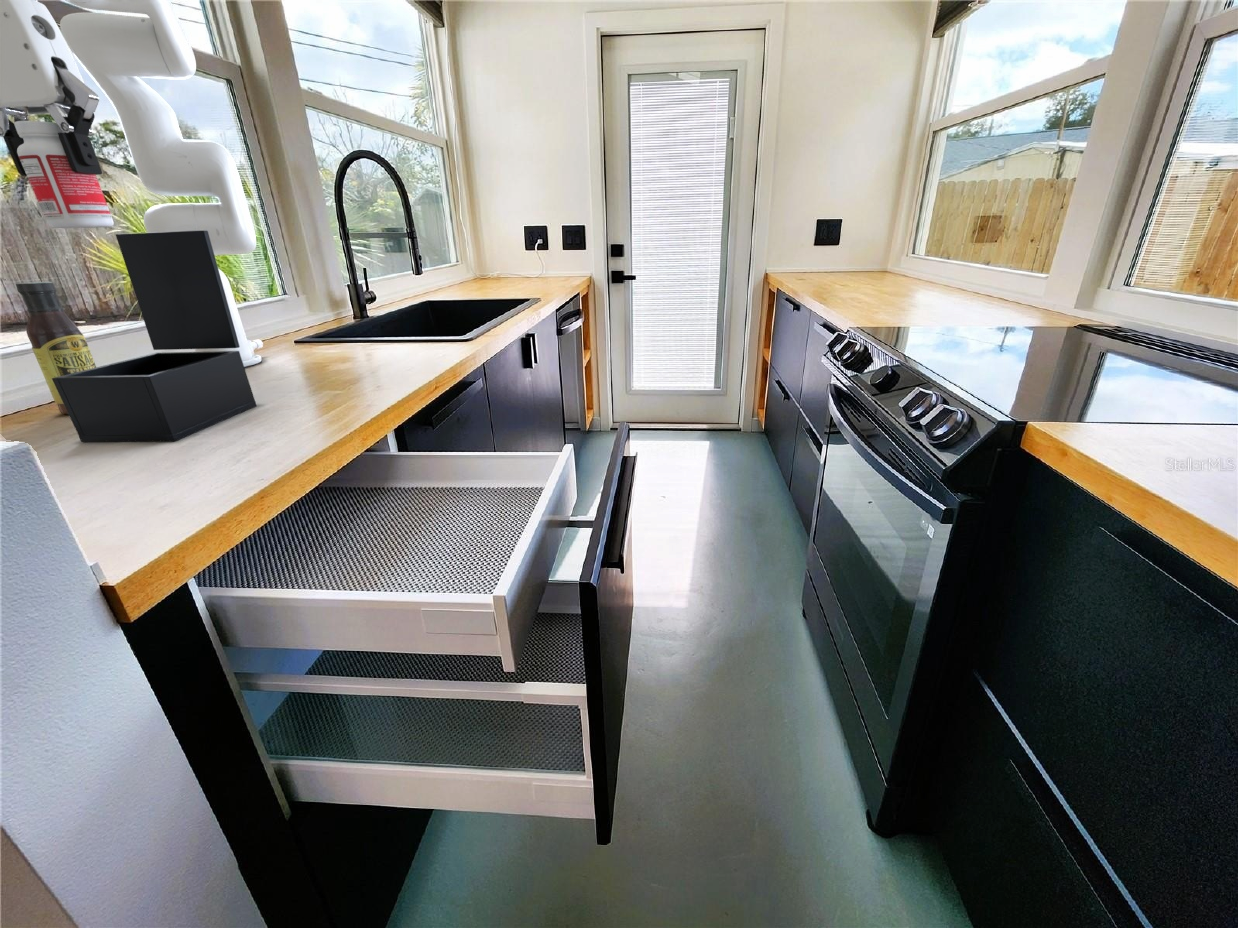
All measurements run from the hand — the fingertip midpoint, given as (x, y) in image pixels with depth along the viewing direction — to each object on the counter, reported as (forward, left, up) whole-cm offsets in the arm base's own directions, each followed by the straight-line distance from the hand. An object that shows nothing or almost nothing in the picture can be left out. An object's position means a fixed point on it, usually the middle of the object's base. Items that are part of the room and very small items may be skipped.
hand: (61, 173), depth 64 cm
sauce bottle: (-9, -22, -33) cm, 40 cm away
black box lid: (-10, 0, -15) cm, 18 cm away
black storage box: (-2, 0, -33) cm, 33 cm away
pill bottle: (0, 0, -6) cm, 6 cm away
